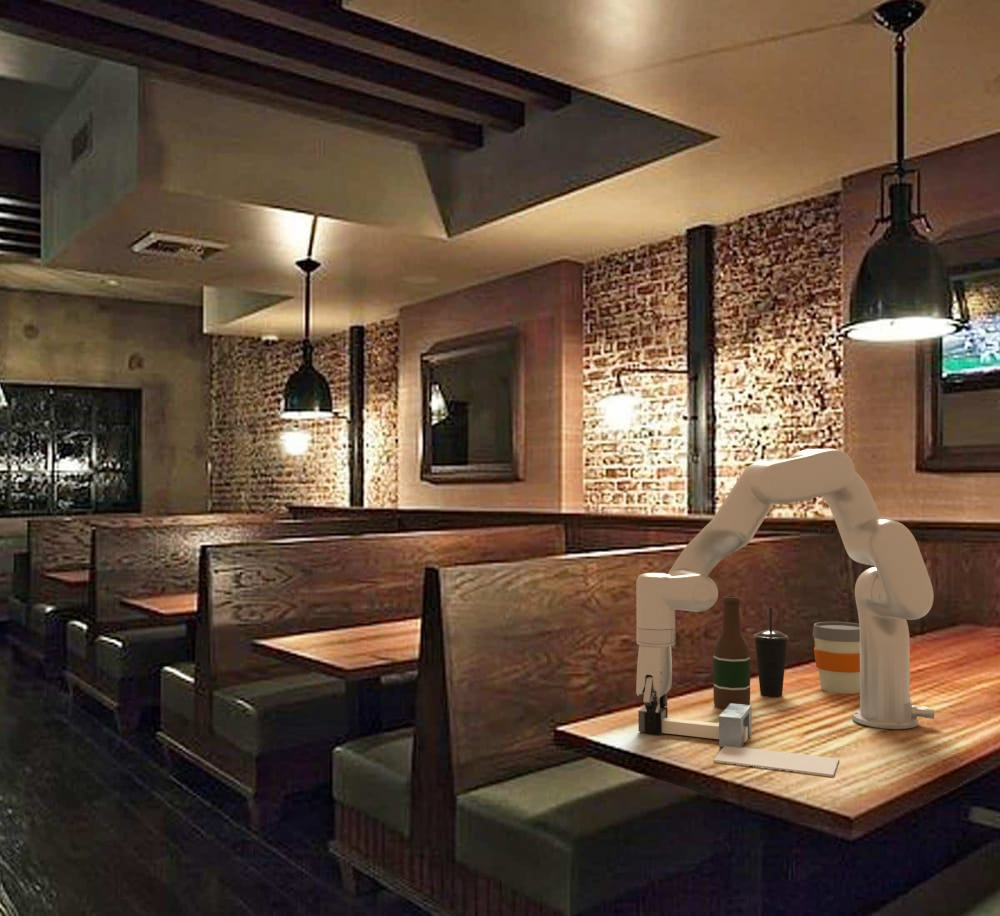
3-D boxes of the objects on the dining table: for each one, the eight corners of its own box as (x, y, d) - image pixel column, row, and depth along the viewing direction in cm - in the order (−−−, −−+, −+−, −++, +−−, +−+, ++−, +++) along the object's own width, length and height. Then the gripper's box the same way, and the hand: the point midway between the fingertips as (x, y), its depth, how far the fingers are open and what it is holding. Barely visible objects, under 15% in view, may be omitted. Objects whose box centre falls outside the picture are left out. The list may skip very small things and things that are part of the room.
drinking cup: (749, 691, 224) (748, 605, 224) (781, 691, 224) (780, 605, 225) (760, 699, 216) (760, 610, 216) (793, 698, 217) (793, 609, 217)
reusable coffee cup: (852, 698, 217) (851, 631, 217) (802, 688, 227) (802, 625, 227) (879, 689, 226) (878, 625, 226) (830, 681, 235) (830, 619, 235)
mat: (838, 760, 169) (838, 758, 169) (833, 777, 160) (833, 774, 160) (725, 747, 178) (725, 745, 178) (713, 762, 169) (713, 759, 169)
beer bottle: (751, 712, 204) (750, 599, 205) (713, 710, 206) (713, 598, 206) (749, 703, 212) (748, 594, 212) (713, 701, 214) (712, 593, 214)
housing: (751, 735, 186) (751, 705, 186) (740, 750, 176) (740, 718, 176) (730, 732, 188) (730, 703, 188) (719, 747, 178) (718, 716, 178)
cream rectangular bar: (748, 738, 183) (748, 716, 183) (744, 743, 179) (744, 721, 179) (644, 726, 191) (644, 706, 192) (638, 731, 188) (638, 710, 188)
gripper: (648, 628, 198) (649, 718, 198) (624, 641, 183) (625, 738, 182) (684, 631, 195) (685, 721, 194) (663, 644, 180) (663, 743, 179)
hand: (656, 728), depth 188 cm, fingers closed on cream rectangular bar, 4 cm apart
